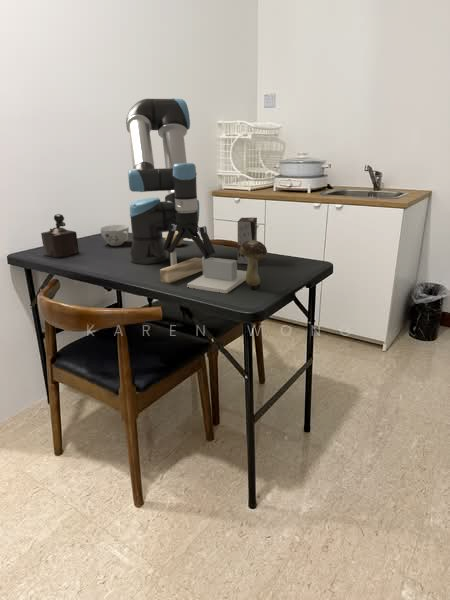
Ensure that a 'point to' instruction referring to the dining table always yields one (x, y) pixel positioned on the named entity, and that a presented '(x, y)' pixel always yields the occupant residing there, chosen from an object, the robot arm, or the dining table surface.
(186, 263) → the beech bar
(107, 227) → the teacup
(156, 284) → the dining table surface
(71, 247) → the brown coffee grinder
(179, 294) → the dining table surface
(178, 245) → the onion
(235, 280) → the fulcrum
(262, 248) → the mushroom
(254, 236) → the coffee box
